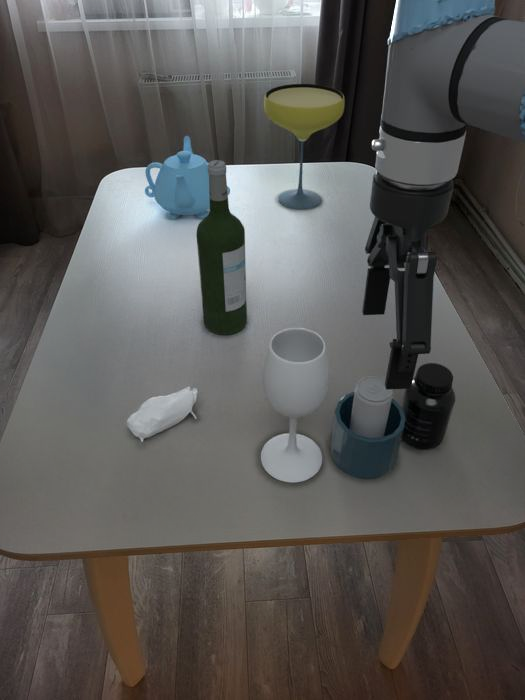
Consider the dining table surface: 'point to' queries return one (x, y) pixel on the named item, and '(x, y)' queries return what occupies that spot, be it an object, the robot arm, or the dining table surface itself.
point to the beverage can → (370, 407)
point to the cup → (365, 442)
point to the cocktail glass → (303, 124)
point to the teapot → (181, 184)
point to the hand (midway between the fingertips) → (384, 347)
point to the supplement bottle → (428, 406)
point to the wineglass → (294, 400)
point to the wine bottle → (222, 259)
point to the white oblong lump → (161, 413)
